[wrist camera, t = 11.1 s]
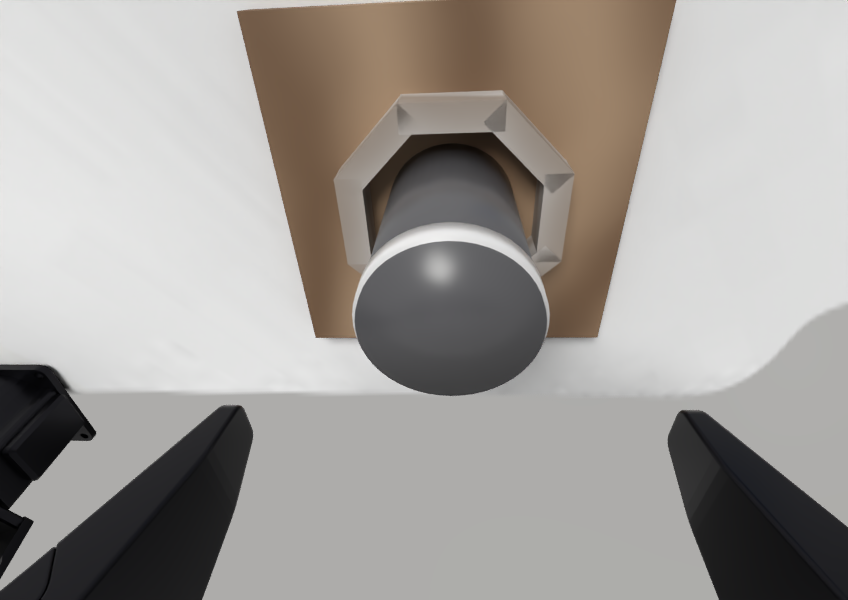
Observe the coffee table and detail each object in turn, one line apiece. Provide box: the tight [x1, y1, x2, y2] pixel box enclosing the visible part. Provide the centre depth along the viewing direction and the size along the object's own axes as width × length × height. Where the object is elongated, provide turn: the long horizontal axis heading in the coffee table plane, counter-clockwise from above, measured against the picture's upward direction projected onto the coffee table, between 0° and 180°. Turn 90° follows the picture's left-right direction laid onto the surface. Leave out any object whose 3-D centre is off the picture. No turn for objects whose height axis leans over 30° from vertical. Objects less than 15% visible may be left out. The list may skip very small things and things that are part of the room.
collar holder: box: [237, 0, 676, 338], centre depth 18 cm, size 14×14×2 cm
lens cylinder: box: [352, 143, 550, 396], centre depth 15 cm, size 5×5×8 cm
